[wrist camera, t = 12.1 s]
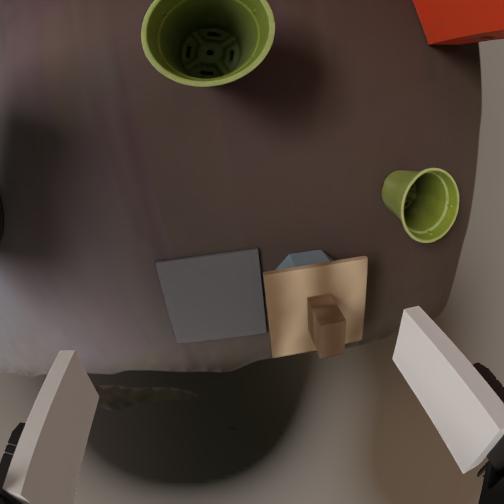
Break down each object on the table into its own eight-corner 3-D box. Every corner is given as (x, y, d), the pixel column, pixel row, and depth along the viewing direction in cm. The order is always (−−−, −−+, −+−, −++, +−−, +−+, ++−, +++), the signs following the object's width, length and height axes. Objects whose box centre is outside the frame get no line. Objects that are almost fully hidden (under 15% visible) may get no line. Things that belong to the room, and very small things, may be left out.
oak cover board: (272, 354, 42) (280, 389, 36) (262, 272, 37) (271, 302, 31) (359, 336, 43) (377, 367, 37) (365, 255, 38) (389, 280, 31)
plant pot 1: (273, 80, 34) (293, 64, 24) (180, 111, 35) (164, 106, 24) (242, 1, 29) (250, -39, 19) (150, 31, 30) (126, 1, 20)
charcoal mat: (177, 341, 47) (177, 343, 47) (155, 261, 42) (155, 263, 41) (266, 331, 48) (266, 332, 48) (257, 247, 42) (258, 249, 42)
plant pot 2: (359, 180, 40) (389, 195, 32) (408, 146, 39) (445, 154, 31) (386, 233, 44) (416, 256, 36) (431, 199, 42) (466, 216, 34)
